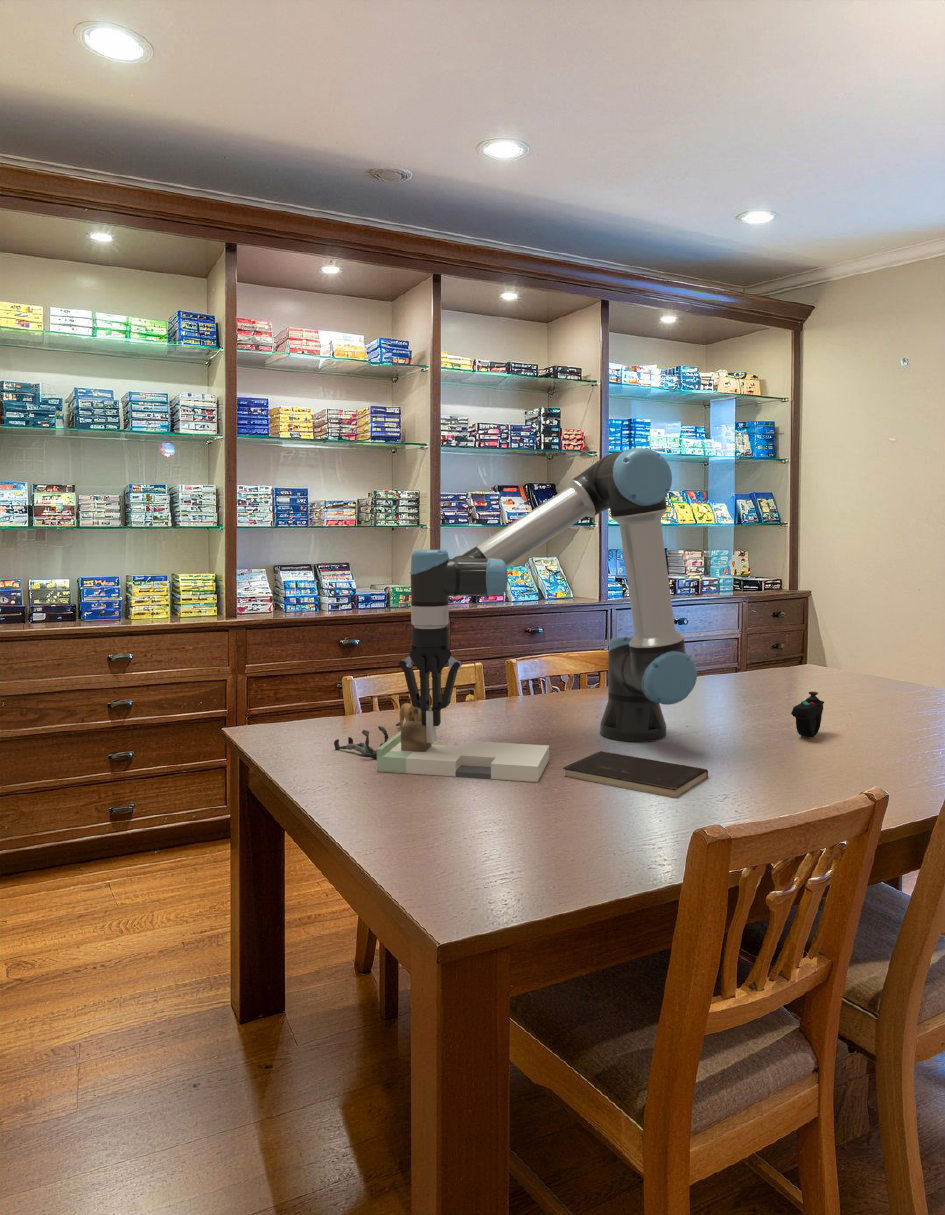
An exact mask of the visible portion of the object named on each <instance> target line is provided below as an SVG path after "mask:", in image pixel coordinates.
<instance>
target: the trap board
mask: <svg viewBox="0 0 945 1215" xmlns="http://www.w3.org/2000/svg"><path fill="white" fill-rule="evenodd" d="M383 743H384V742H383ZM376 750H377V758H376V772H382V773H395V774H396V773H397V774H411V775H412V774H413V775H424V776H425V775H428V776H440V777H441V776H442V777H444V776H445V777H454V778H458V777H459V778H470V779H471V778H472V779H488V780H500V781H501V780H502V781H503V780H504V781H515V782H516V781H517V782H533V783H538V782H539V781H540V778H541V777H542V775H543V772H544V770H545V769H546V766H547V764H548V763H549V761H550V745H547V744H546V745H545V744H527V743H514V742H513V743H512V742H509V743H508V742H494V741H493V742H491V741H477V740H476V741H475V740H464V741H463V742H462V743H461V744H460V745H447V744H434V743H432V746H431V747H430V748H429V749H428V750H427V751H426V752H414V751H401V731H400V732H399V731H398V732H397V733H396V734H394V735H393V736H392V737H391V738H388V739H387V742H385V743H384V744H383V745H381V746H380V745H379V747H377V749H376Z"/></svg>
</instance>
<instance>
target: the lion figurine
mask: <svg viewBox="0 0 945 1215" xmlns="http://www.w3.org/2000/svg"><path fill="white" fill-rule="evenodd" d="M429 709H432V705H430V707H429ZM404 720H405V723H406V722H408V721H418V722H422V713H421V709H420V708H417V707H413V705H412V703H408V702H405V703H403V704H402V705H401V706H400V708H399V722H397V723H396V724H395V726H396V727H399V728H398V733H399V732H400V731H401V726H402V725H404Z"/></svg>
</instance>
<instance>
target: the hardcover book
mask: <svg viewBox="0 0 945 1215" xmlns="http://www.w3.org/2000/svg"><path fill="white" fill-rule="evenodd" d="M562 770H564V775H565V777H569V778H573V779H578V780H582V781H589V782H593V783H598V784H599V783H600V784H603V785H608V786H613V787H620V788H624V789H629V790H634V791H640V792H643V793H648V794H654V795H659V796H660V795H661V796H664V795H665V796H664V797H670V798H676V797H678V796H679V794H680V795H681V794H682V793H684V792H686V791H687V790H689V789H690V788H689V787H691V788H692V787H694V786H695V785H698V784H699V783H700V782H701V780H702V781H703V780H705V779H707V777H708V778H709V770H708V769H707V768H703V767H702V768H701V767H697V766H692V765H691V766H690V765H684V764H679V763H674V762H667V761H660V760H655V759H651V758H643V757H638V756H631V755H627V754H621V753H615V752H610V751H604V750H600V751H597V752H595V753H593V754H590V755H589V756H585V757H584V758H582V759H579V760H577V761H575V762H573V763H569V764H568V765H565V766H563V767H562ZM699 781H700V782H699ZM688 788H689V789H688ZM677 795H678V796H677Z"/></svg>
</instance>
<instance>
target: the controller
mask: <svg viewBox="0 0 945 1215" xmlns="http://www.w3.org/2000/svg"><path fill="white" fill-rule="evenodd" d="M808 695H810V696H808V697H806V699H805V700H802V701H801V702H800V703H799V704H796V705H795V706H793V707H792V710H791V713H790V714H791V715H792V717H794V718H795V725H796V726H795V727H796V731H797V733H798V734H799V736H801V737H803V738H810V739H811V738H814V737H816V736H817V735H818V733H819V730H820V728H821V723H822V716H823V712H824V703H825V701H824V700H820V699H819V697H817V695H819V692H818V691H808Z"/></svg>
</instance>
